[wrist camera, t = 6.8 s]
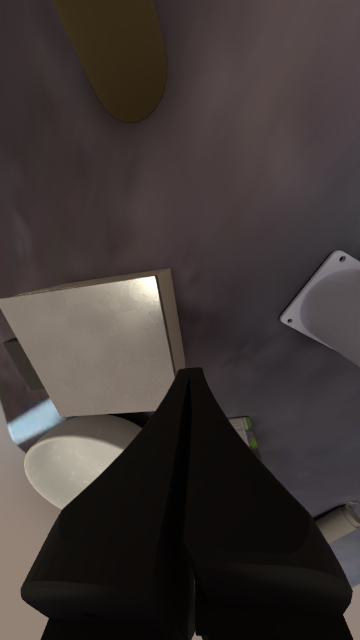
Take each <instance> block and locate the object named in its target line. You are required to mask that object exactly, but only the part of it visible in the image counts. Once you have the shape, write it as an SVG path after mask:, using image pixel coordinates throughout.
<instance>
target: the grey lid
mask: <svg viewBox="0 0 360 640" xmlns="http://www.w3.org/2000/svg"><path fill="white" fill-rule="evenodd" d="M0 308H1V310H2V312H3V314H4V315H5V317H6V319H7V321H8V323H9V324H10V326H11V328H12V330H13V332H14V333H15V335H16V337H17V338H12V339H10V340H8V341H6V342H4V343H3V344H4V346H5V347H6V349H7V351H8V352H9V354H10V356H11V357H12V359H13V361H14V362H15V364H16V366H17V368H18V369H19V371H20V373H21V374H22V376H23V378H24V379H25V381H26V383H27V384H28V386H29V388H30V389H31V390H37V389H46V391H47V393H48V395H49V396H50V398H51V400H52V402H53V404H54V405H55V407H56V409H57V411H58V413H59V414H60V416H61V417H69V416H84V415H100V414H115V413H131V412H146V411H156V409H157V408H158V406H159V405H160V403H161V402H162V400H163V398H164V397H165V395H166V393H167V392H168V390H169V388H170V386H171V384H172V383H173V381H174V379H175V377H176V370H175V364H174V359H173V354H172V348H171V343H170V338H169V333H168V327H167V322H166V317H165V311H164V306H163V301H162V295H161V290H160V285H159V280H158V275H151V276H144V277H138V278H131V279H124V280H117V281H111V282H104V283H97V284H90V285H84V286H77V287H70V288H63V289H57V290H50V291H43V292H36V293H30V294H23V295H16V296H9V297H5V298H1V299H0Z"/></svg>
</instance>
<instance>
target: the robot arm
mask: <svg viewBox="0 0 360 640" xmlns="http://www.w3.org/2000/svg"><path fill="white" fill-rule="evenodd" d="M341 257H342V260H341V261H339V259H340V258H341ZM288 319H291V320H290V321H289V322H287V321H288ZM280 321H281V322H283V323H284V324H286V325H288V326H290V327H292V328H294V329H296V330H298V331H299V332H301V333H303V334H305V335H307V336H309V337H311V338H313V339H314V340H316V341H318V342H320V343H322V344H324V345H326V346H328V347H329V348H331V349H333V350H335V351H337V352H338V353H340V354H341V355H343V356H344V357H346V358H347V359H348V360H350V361H351V362H353V363H354V364H356V365H357V366H358V367H360V262H359V261H358V260H356V259H355V258H353V257H351V256H350V255H348V254H346V253H345V252H343V251H334V252H332V253H331V254H330V256H329V257H328V258H327V259H326V261H325V262H324V263H323V264H322V265H321V267H320V268H319V269H318V270H317V272H316V273H315V274H314V275H313V277H312V278H311V279H310V280H309V281H308V283H307V284H306V285H305V286H304V288H303V289H302V290H301V291H300V293H299V294H298V295H297V296H296V297H295V299H294V300H293V301H292V302H291V304H290V305H289V306H288V307H287V308H286V310H285V311H284V312H283V313H282V315H281V316H280ZM194 578H195V581H194ZM352 592H353V591H352V588H351V586H350V584H349V582H348V580H347V578H346V575H345V573H344V571H343V569H342V567H341V565H340V564H339V562H338V560H337V558H336V556H335V555H334V553H333V551H332V549H331V547H330V546H329V544H328V542H327V541H326V539H325V537H324V536H323V534H322V532H321V531H320V529H319V528H318V526H317V524H316V523H315V521H314V520H313V518H312V517H311V515H310V514H309V512H308V511H307V510H306V509H305V508H304V507H303V506H302V505H301V504H300V503H299V502H298V501H297V500H296V499H295V498H294V497H293V496H292V495H291V494H290V493H289V492H288V491H287V490H286V488H285V487H284V486H283V485H282V484H281V483H280V482H279V481H278V480H277V479H276V478H275V477H274V475H273V474H272V473H271V472H270V471H269V470H268V469H267V468H266V467H265V465H264V464H263V463H262V462H261V461H260V460H259V458H258V457H257V456H256V455H255V454H254V452H253V451H252V450H251V449H250V448H249V446H248V445H247V444H246V443H245V442H244V440H243V439H242V438H241V436H240V435H239V434H238V432H237V431H236V430H235V428H234V427H233V426H232V424H231V423H230V421H229V420H228V419H227V417H226V416H225V414H224V413H223V411H222V409H221V408H220V406H219V405H218V403H217V401H216V399H215V398H214V396H213V394H212V392H211V390H210V388H209V386H208V384H207V382H206V379H205V377H204V373H203V369H202V368H201V367H198V368H185V369H179V370H178V372H177V374H176V377H175V379H174V381H173V383H172V384H171V386H170V388H169V390H168V392H167V393H166V395H165V397H164V398H163V400H162V402H161V403H160V405H159V406H158V408H157V409H156V411H155V412H154V414H153V415H152V416H151V418H150V419H149V421H148V422H147V423H146V424H145V426H144V427H143V428H142V430H141V431H140V432H139V433H138V434H137V436H136V437H135V438H134V439H133V440H132V442H131V443H130V444H129V445H128V446H127V447H126V448H125V449H124V450H123V452H122V453H121V454H120V455H119V456H118V457H117V458H116V459H115V460H114V461H113V462H112V463H111V464H110V465H109V466H108V467H107V468H106V469H105V470H104V471H103V472H102V473H101V474H100V475H99V476H98V477H97V478H96V479H95V480H94V481H93V482H92V483H91V484H89V485H88V486H87V487H86V488H85V489H84V490H83V491H82V492H81V493H80V494H79V495H77V496H76V497H75V498H74V499H73V500H72V501H71V502H70V503H69V504H67V505H66V506H65V507H64V508H63V509H62V511H61V513H60V514H59V516H58V518H57V520H56V521H55V523H54V525H53V526H52V528H51V530H50V532H49V534H48V537H47V538H46V540H45V542H44V544H43V546H42V548H41V550H40V552H39V554H38V556H37V558H36V560H35V561H34V563H33V565H32V567H31V570H30V571H29V573H28V575H27V577H26V579H25V581H24V583H23V585H22V587H21V597H22V599H23V600H24V601H25V602H26V603H27V604H29V605H30V606H32V607H33V608H35V609H36V610H38V611H39V612H40V613H42V614H43V615H45V616H46V617H48V618H49V620H48V622H47V625H46V627H45V630H44V633H43V635H42V638H41V640H191V639H192V637H193V635H194V632H195V631H196V635H197V636H202V639H203V640H353V638H352V635H351V633H350V630H349V628H348V626H347V623H346V621H345V618H344V616H343V614H344V612H345V611H346V609H347V608H348V606H349V604H350V603H351V599H352Z"/></svg>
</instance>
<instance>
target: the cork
mask: <svg viewBox="0 0 360 640" xmlns="http://www.w3.org/2000/svg"><path fill="white" fill-rule="evenodd" d="M52 2H53V4H54V7H55V9H56V11H57V13H58V15H59V17H60V19H61V21H62V23H63V26H64V28H65V30H66V32H67V34H68V36H69V38H70V40H71V42H72V45H73V47H74V49H75V51H76V53H77V55H78V57H79V59H80V61H81V64H82V66H83V68H84V70H85V72H86V74H87V76H88V78H89V80H90V83H91V85H92V87H93V89H94V91H95V93H96V95H97V97H98V99H99V100H100V102H101V104H102V106H103V107H104V108H105V109H106V111H107V112H108V113H109V114H110V115H111V116H112V117H114V118H116V119H118V120H120V121H122V122H125V123H136V122H138V121H141V120H143V119H146V118H147V117H148V116H149V115H150V114H151V113H152V112H153V111H154V110H155V109H156V107H157V105H158V103H159V101H160V99H161V97H162V96H163V92H164V88H165V84H166V80H167V54H166V49H165V43H164V39H163V35H162V31H161V28H160V24H159V20H158V17H157V13H156V9H155V6H154V2H153V0H52Z"/></svg>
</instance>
